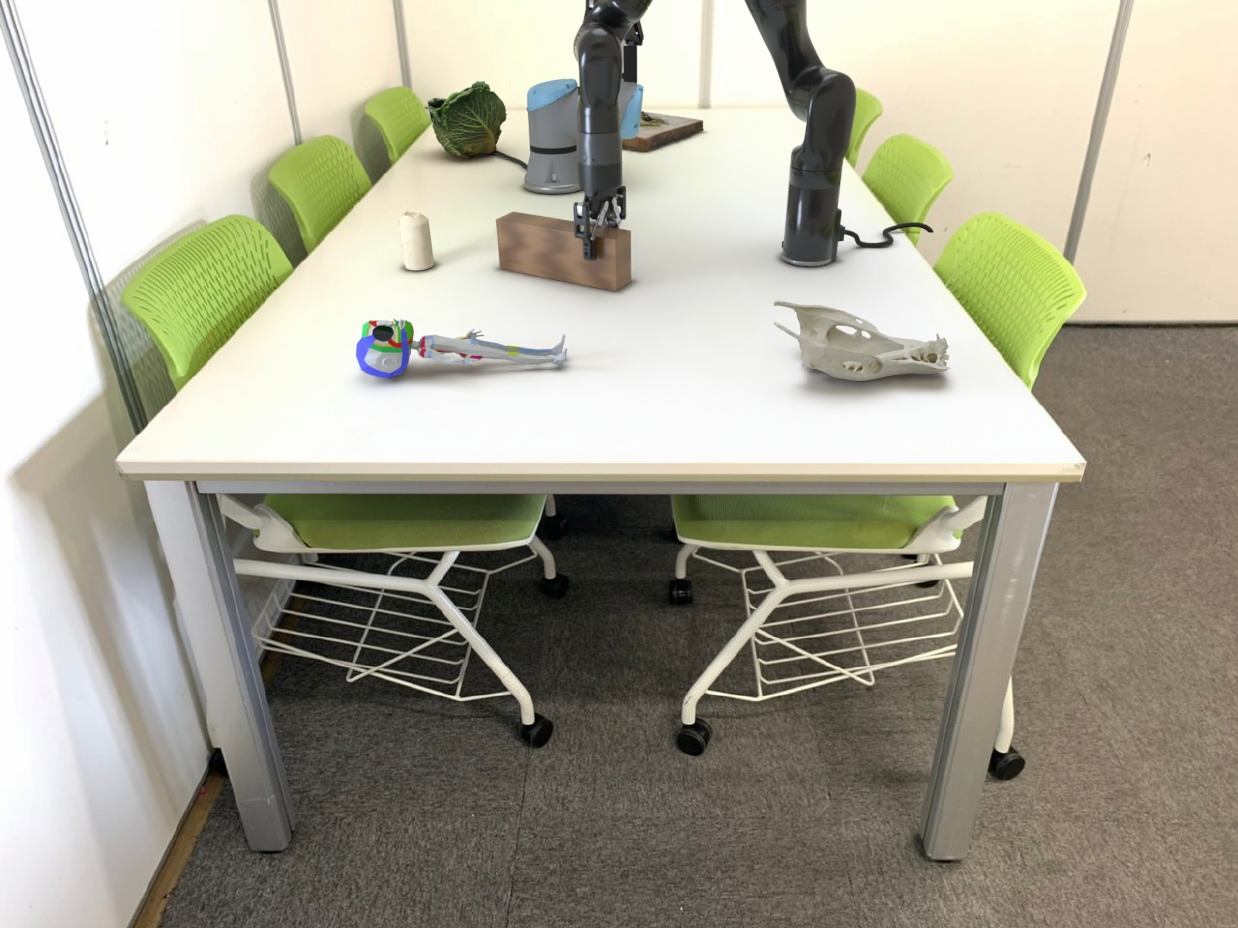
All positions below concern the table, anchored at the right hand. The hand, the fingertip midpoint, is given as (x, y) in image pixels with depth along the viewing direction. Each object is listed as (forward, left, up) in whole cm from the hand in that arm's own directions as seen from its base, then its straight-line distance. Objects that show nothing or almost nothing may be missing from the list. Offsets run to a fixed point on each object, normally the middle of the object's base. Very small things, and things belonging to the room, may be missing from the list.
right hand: (601, 253), depth 158 cm
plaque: (-39, -110, -5) cm, 117 cm away
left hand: (-11, -31, +22) cm, 40 cm away
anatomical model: (-26, +46, -5) cm, 53 cm away
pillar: (-7, -25, -5) cm, 27 cm away
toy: (+28, +28, -5) cm, 40 cm away
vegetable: (+10, -102, -5) cm, 103 cm away
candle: (+31, -19, -5) cm, 36 cm away
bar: (+6, -6, -5) cm, 10 cm away
